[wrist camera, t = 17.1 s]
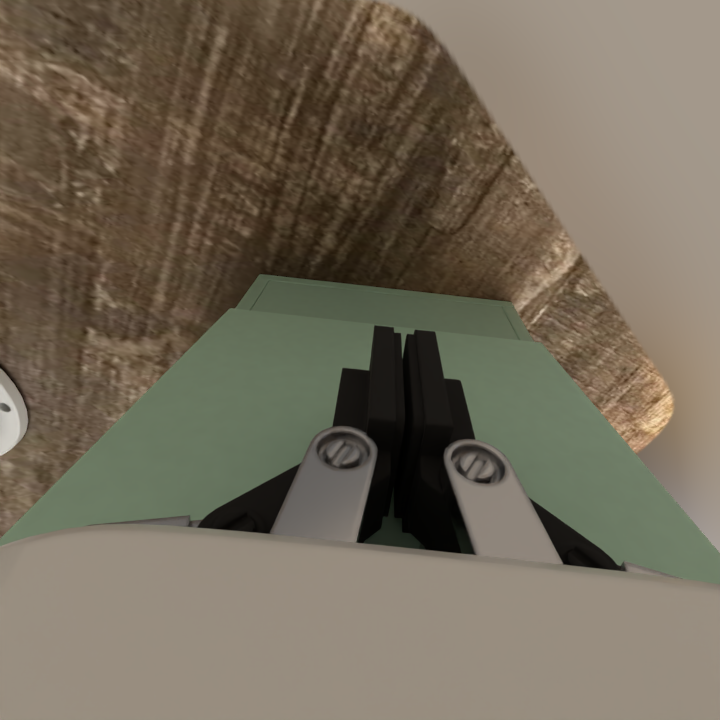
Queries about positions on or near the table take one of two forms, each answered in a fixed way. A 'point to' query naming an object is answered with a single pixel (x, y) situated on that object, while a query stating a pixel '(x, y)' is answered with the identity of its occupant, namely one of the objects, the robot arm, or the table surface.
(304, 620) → the robot arm
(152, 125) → the table surface
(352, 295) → the box
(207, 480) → the lid
